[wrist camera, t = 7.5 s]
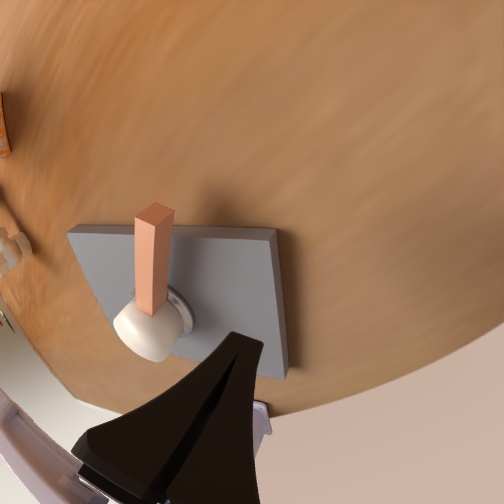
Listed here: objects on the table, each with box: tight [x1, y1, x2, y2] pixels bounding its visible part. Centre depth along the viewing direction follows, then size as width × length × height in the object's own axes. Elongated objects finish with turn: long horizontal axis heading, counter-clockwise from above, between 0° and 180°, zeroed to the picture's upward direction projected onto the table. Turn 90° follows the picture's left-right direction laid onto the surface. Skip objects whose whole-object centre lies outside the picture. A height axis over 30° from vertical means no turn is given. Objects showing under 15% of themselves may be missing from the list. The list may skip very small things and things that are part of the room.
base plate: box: [66, 225, 289, 380], centre depth 24 cm, size 14×20×2 cm
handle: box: [113, 202, 184, 362], centre depth 19 cm, size 13×5×3 cm, turn 164°
